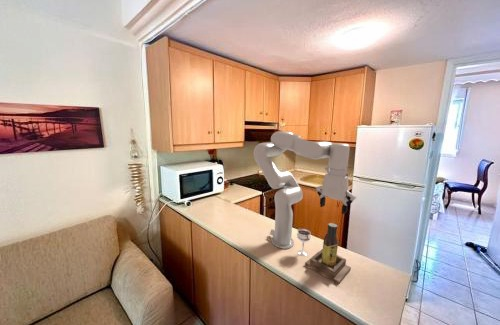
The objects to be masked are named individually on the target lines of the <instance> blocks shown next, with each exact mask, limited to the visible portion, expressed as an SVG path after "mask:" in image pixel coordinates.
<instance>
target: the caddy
mask: <svg viewBox="0 0 500 325" xmlns="http://www.w3.org/2000/svg"><path fill="white" fill-rule="evenodd" d="M322 250H323V248H322V249H321V250H319V251H317V252H316V253H315V254H314V255H313V256H311V257H310V258H309V259H308V260H306V262H304V266H305V267H307V268H308V269H311V270H312V271H314V272H316V273H318V274H320V275H321V276H322V277H324V278H326V279H328V280H330V281H332V282H333V283H335V284H337V285H340V284H341V283H342V281H343V280H344V279H345V278H346V276H347V275H348V274H349V273H350V271H351V269H352V267H351V266H349V265H347V258H344V257H342V256H340V255H338V254H337V256H336V264H335V266H334V268H330V267H328V266H326V265H324V264H322V260H321V259H322Z"/></svg>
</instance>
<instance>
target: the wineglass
mask: <svg viewBox="0 0 500 325" xmlns="http://www.w3.org/2000/svg"><path fill="white" fill-rule="evenodd" d="M311 234H312V233H311V231H310V230H309V229H306V228H298V229H297V239H298V240H299V242H302V245H301V246H302V249H300V250H297V254H298V255H299V256H301V257H306V256H308V252H307V251H305V250H304V246H305V243H307V242H309V241H310V240H311V238H312V236H311Z"/></svg>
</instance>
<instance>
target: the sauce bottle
mask: <svg viewBox="0 0 500 325" xmlns="http://www.w3.org/2000/svg"><path fill="white" fill-rule="evenodd" d="M337 230H338V225H337V224H336V223H332V222H330V223H327V233H326V234H325V235H324V237H323V243H322V249H323V250H322V249H321V250H322V259H321V260H322V264H324V265H326V266H328V267H330V268H334V266H335V264H336V256H337V255H338V245H339V242H338V237H337V232H338V231H337Z"/></svg>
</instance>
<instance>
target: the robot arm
mask: <svg viewBox="0 0 500 325" xmlns="http://www.w3.org/2000/svg"><path fill="white" fill-rule="evenodd" d="M350 149H351V148H350V145H349V144H348V143H339V142H337V143H336V142H335V143H334V142H330V141H324V140H323V141H313V140H312V141H311V140H307V139H303V138H302V136H301V135H299V134H295V133H293V132H292V131H287V130H286V131H285V130H284V131H282V130H281V131H280V130H278V131H275V132H274V133H272V135H271V136H270V142H269V141H267V142H261V143H259V144H256V145H255V147H254V149H253V159H254V160H255V163H256V164H257V166H258V168H259V169H260V170H261V171H262V174H263V176H264V178H265V180H266V181H267V183H268V185H269V187H271V189H273V190H275V189H279V190H277V191H276V192H275V194H274V206H275V207H274V208H275V214H274V215H275V217H274V229H271V230H270V232H269V235H271V236H272V237H271V243H272V245H273V246H274V247H276V248H278V249H281V250H282V249H283V250H284V249H285V250H287V249H291V248H292V247H294V244H295V241H294V239H293V238H292V233H293V218H294V212H293V209H292V205H294V204H297V203H299V202H301V201H302V200H303V196H304V194H303V190H302V188H301V187H300V184H298V182H297V179H296V178H295V177H294V175H293V173H292V172H290V171H288V170H286V169H285V170H282V169H281V170H279V169H278V168H277V166H276V164H275V163H274V161H273V160H272V159H270V158H271V157H277V156H280V155H281V154H283V153H284V152H286V151H291V152H293V153H294V154H296V155H298V156H301V157H303V158H306V159H307V158H308V159H311V160H321V159H328V167H325V168H324V171H326V173H325V174H324V177H323V181H322V185H319V186H316V187H315V190H316V192H317V193H316V194H317V195H318V197H319V198H320V200H319V204H320V208H322V207H324V206H325V205H326V198H330V199H333V200H335V201H341V202H342V203H343V204H342V208H341V215H344V214H346V213H347V212H348V208H349V205H350V204H352V203H354V201H355V200H356V199H357V196H356V195H355V194H353V193H352V192H350V191H349V176H347V175H348V174H347V173H348V165H349V157H350ZM348 197H349V198H350V199H348Z"/></svg>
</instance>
